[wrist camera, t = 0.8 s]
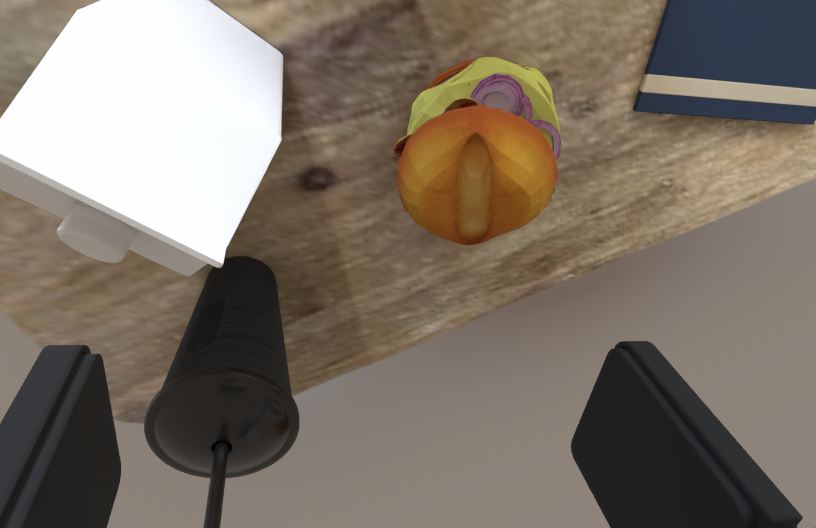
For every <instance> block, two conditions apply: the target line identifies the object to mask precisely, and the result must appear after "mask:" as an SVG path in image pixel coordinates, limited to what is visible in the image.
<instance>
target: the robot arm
mask: <svg viewBox="0 0 816 528" xmlns="http://www.w3.org/2000/svg"><path fill="white" fill-rule="evenodd" d="M571 450H572V455H573V458H574V460H575V462H576V464H577V466H578V467H579V469H580V471H581V473H582V475H583V477H584V478H585V480H586V482H587V484H588V486H589V488H590V490H591V492H592V493H593V495H594V497H595V499H596V501H597V503H598V505H599V507H600V508H601V510H602V512H603V514H604V516H605V518H606V520H607V522H608V524H609V525H610V527H611V528H797V527H796V526H797V525H798V523H799V522H800V521H801V520H802V518H803V517H802V516H801V515H800V514H799V512H798V511H797V510H796V509H795V508H794V507H793V506H792V504H791V503H790V502H789V501H788V500H787V499H786V497H785V496H784V495H783V494H782V493H781V492H780V490H779V489H778V488H777V487H776V486H775V485H774V483H773V482H772V481H771V480H770V479H769V478H768V476H767V475H766V474H765V473H764V472H763V471H762V470H761V468H760V467H759V466H758V465H757V464H756V463H755V462H754V460H753V459H752V458H751V457H750V456H749V455H748V453H747V452H746V451H745V450H744V449H743V448H742V446H741V445H740V444H739V443H738V442H737V441H736V439H735V438H734V437H733V436H732V435H731V434H730V433H729V431H728V430H727V429H726V428H725V427H724V426H723V424H722V423H721V422H720V421H719V420H718V419H717V417H716V416H715V415H714V414H713V413H712V412H711V411H710V409H709V408H708V407H707V406H706V405H705V404H704V402H703V401H702V400H701V399H700V398H699V397H698V395H697V394H696V393H695V392H694V391H693V390H692V389H691V388H690V386H689V385H688V384H687V383H686V382H685V381H684V380H683V378H682V377H681V376H680V375H679V374H678V372H677V371H676V370H675V369H674V368H673V367H672V365H671V364H670V363H669V362H668V361H667V360H666V359H665V357H664V356H663V355H662V354H661V353H660V352H659V351H658V349H657V348H656V347H655V346H654V345H653V344H652V343H650V342H647V341H625V342H624V341H623V342H619V343H618V344H617V345H616V346H615V348H614V349H611V350H610V351H609V352H608V354H607V356H606V359H605V361H604V364H603V366H602V369H601V371H600V374H599V376H598V378H597V381H596V383H595V386H594V388H593V390H592V393H591V395H590V398H589V400H588V402H587V405H586V407H585V410H584V412H583V414H582V417H581V419H580V422H579V424H578V426H577V429H576V431H575V434H574V436H573V439H572V442H571ZM120 477H121V461H120V456H119V450H118V444H117V438H116V433H115V427H114V421H113V415H112V410H111V404H110V398H109V392H108V387H107V381H106V375H105V369H104V364H103V359H102V356H101V355H100V354H91V353H90V349H89V348H88V346H86V345H48V346H46V347H44V349H43V350H42V351H41V353H40V355H39V357H38V358H37V360H36V362H35V364H34V365H33V367H32V369H31V371H30V372H29V374H28V376H27V378H26V379H25V381H24V383H23V385H22V386H21V388H20V390H19V392H18V394H17V395H16V397H15V399H14V401H13V402H12V404H11V406H10V408H9V409H8V411H7V413H6V415H5V417H4V418H3V420H2V422H1V424H0V528H106V527H107V524H108V521H109V517H110V514H111V511H112V507H113V504H114V501H115V497H116V494H117V491H118V487H119V483H120Z"/></svg>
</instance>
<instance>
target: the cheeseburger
mask: <svg viewBox="0 0 816 528" xmlns="http://www.w3.org/2000/svg"><path fill="white" fill-rule="evenodd" d="M560 145H561V140H560V133H559V122H558V115H557V112H556V108H555V105H554V102H553V92H552V90H551V87H550V85H549V83H548V81H547V80H546V78H545V77H544V76H543V75H542V73H541V72H539V71H538V70H537V69H535V68H529V67H523V66H519V65H516V64H514V63H511V62H509V61H506V60H503V59H500V58H497V57H481V58H478V59H477V60H468V61H464V62H462V63H460V64H458V65H456V66H454V67H452V68H450V69H448V70H446V71H444V72H442V73H440V74H439V75H438V76H437V77H436V78H435V79H434V80H433V82H432V83H431V84H430V85H429V86H428V87H427V89H426V90H425V91H424V92H422V93H420V94H419V96H418V97H417V98H416V100H415V101H414V102H413V104H412V110H411V117H410V121H409V125H408V129H407V136H404V137H403V138H402V139H400V140H399V141H398V142H397V143H396V144H395V145H394V149H393V154H394V155H395V156H397V157H400V159H399V162H398V171H397V187H398V192H399V195H400V198H401V201H402V204H403V207H404V208H405V210H406V211H407V212H408V213H409V215H410V216H411V217H412V218H413V220H414V221H415V222H417V223H418V224H419V225H420V226H422V227H423V228H425V229H426V230H428V231H430V232H431V233H433V234H435V235H437V236H439V237H441V238H444V239H447V240H450V241H452V242H455V243H459V244H463V245H474V244H479V243H483V242H485V241H487V240H489V239H491V238H494V237H496V236H499V235H501V234H504V233H507V232H510V231H513V230H515V229H518V228H520V227H522V226H524V225H526V224H528V223H529V222H530V221H531V220H533V219H534V218H535V217H536V216H537V215H538V214H539V213H540V212H541V211H542V210H543V209H544V208H545V207H546V206H547V205H548V203H549V201H551V197H552V194H553V192H554V190H555V184H556V182H557V179H558V177H557V166H556V161H557V158H558V157H559V151H560Z"/></svg>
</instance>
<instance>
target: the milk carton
mask: <svg viewBox="0 0 816 528" xmlns="http://www.w3.org/2000/svg"><path fill="white" fill-rule="evenodd" d="M282 89H283V55H282V54H281V53H280V52H279V51H278V50H276V49H275V48H274V47H272V46H271V45H270V44H268V43H267V42H265V41H264V40H263V39H261V38H260V37H258V36H257V35H256V34H254V33H253V32H251V31H250V30H249V29H247V28H246V27H245V26H243V25H242V24H240V23H239V22H238V21H236V20H235V19H233V18H232V17H231V16H229V15H228V14H226V13H225V12H224V11H222V10H221V9H219V8H218V7H217V6H215V5H214V4H213V3H211V2H210V1H208V0H101V1H99V2H96V3H94V4H92V5H89V6H87V7H85V8H82V9H78V10H77V11H76V13H75V14H74V16H73V17H72V18H71V20H70V21H69V23H68V24H67V26H66V27H65V28H64V30H63V31H62V33H61V34H60V35H59V37H58V38H57V40H56V41H55V42H54V44H53V45H52V47H51V48H50V49H49V51H48V52H47V54H46V55H45V57H44V58H43V59H42V61H41V62H40V64H39V65H38V66H37V68H36V69H35V71H34V72H33V73H32V75H31V76H30V78H29V79H28V80H27V82H26V83H25V85H24V86H23V88H22V89H21V90H20V92H19V93H18V95H17V96H16V97H15V99H14V100H13V102H12V103H11V104H10V106H9V107H8V109H7V110H6V111H5V113H4V114H3V116H2V117H1V119H0V189H1V190H3V191H5V192H7V193H9V194H11V195H13V196H16V197H18V198H20V199H22V200H24V201H26V202H28V203H31V204H33V205H35V206H37V207H39V208H41V209H43V210H45V211H47V212H50V213H52V214H54V215H56V216H58V217H60V218H62V219H64V220H63V221H62V223H61V224H60V226H59V228H58V229H57V235H58V237H59V238H60V240H61V241H63V242H64V243H65V244H66V245H68V246H69V247H71V248H73V249H74V250H76V251H78V252H80V253H82V254H84V255H86V256H89V257H91V258H94V259H96V260H100V261H103V262H108V263H119V262H121V261H122V260H123V259H124V257H125V255H126V253H127V251H128V250H130V251H133V252H135V253H137V254H139V255H141V256H143V257H145V258H147V259H149V260H152V261H154V262H156V263H158V264H160V265H162V266H164V267H167V268H169V269H171V270H173V271H175V272H177V273H180V274H182V275H185V276H187V277H189V276H191V275H192V274H194V273H195V272H196V271H198V270H199V269H201V268H202V267H203V266H205V265H206V264H211V265H213V266H215V267H217V268H220V267H222V265H223V263H224V258H225V253H226V248H227V246H228V244H229V242H230V240H231V238H232V237H233V235H234V233H235V231H236V229H237V227H238V225H239V223H240V221H241V219H242V217H243V215H244V213H245V211H246V209H247V207H248V205H249V203H250V201H251V199H252V197H253V195H254V193H255V191H256V189H257V187H258V185H259V183H260V181H261V180H262V178H263V176H264V174H265V172H266V170H267V168H268V166H269V164H270V162H271V160H272V158H273V156H274V154H275V152H276V150H277V148H278V146H279V144H280V142H281V140H282V139H281V127H282Z"/></svg>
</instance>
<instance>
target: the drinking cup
mask: <svg viewBox="0 0 816 528" xmlns="http://www.w3.org/2000/svg"><path fill="white" fill-rule="evenodd" d="M298 431H299V412H298V408H297V405H296V403H295V401H294V399H293V397H292V395H291V388H290V380H289V373H288V365H287V358H286V351H285V343H284V336H283V328H282V321H281V314H280V306H279V299H278V291H277V284H276V279H275V276H274V274H273V272H272V271H271V270H270V268H269V267H268V266H267V265H265V264H264V263H262V262H261V261H259V260H257V259H254V258H250V257H243V256H238V257H231V258H228V259H225V260H224V263H223V265H222V267H220V268H217V267H215V266H214V267H213V269H212V270H211V271H210V273H209V275H208V278H207V280H206V282H205V285H204V287H203V290H202V292H201V295H200V297H199V299H198V302H197V304H196V307H195V309H194V312H193V314H192V316H191V319H190V321H189V324H188V326H187V329H186V331H185V333H184V336H183V338H182V341H181V343H180V346H179V348H178V351H177V353H176V355H175V358H174V360H173V363H172V365H171V368H170V370H169V372H168V375H167V377H166V380H165V382H164V385H163V387H162V389H161V390H160V391H159V392H158V393H157V394H156V396H155V397H154V398H153V400H152V401H151V403H150V405H149V407H148V410H147V413H146V416H145V421H144V432H145V436H146V440H147V442H148V444H149V446H150V448H151V449H152V451H153V452H154V453H155V454H156V455H157V456H158V458H160V459H161V460H162V461H163V462H164V463H166V464H167V465H169V466H171V467H173V468H174V469H177V470H179V471H181V472H184V473H187V474H190V475H194V476H199V477H205V478H210V485H209V492H208V500H207V507H206V514H205V522H204V528H220V523H221V514H222V504H223V496H224V487H225V478H233V477H240V476H245V475H248V474H252V473H255V472H258V471H260V470H262V469H264V468H266V467H268V466H270V465H272V464H274V463H275V462H276V461H278V460H279V459H280V458H282V457H283V456H284V455H285V454H286V453H287V452H288V451H289V449H290V448H291V447H292V445H293V443H294V441H295V439H296V437H297V434H298Z"/></svg>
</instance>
